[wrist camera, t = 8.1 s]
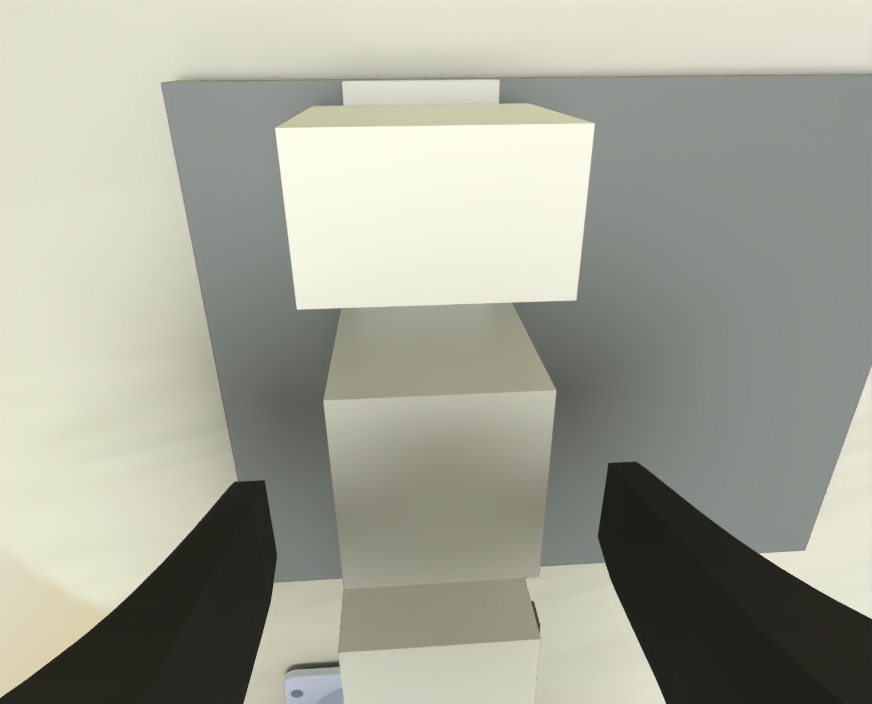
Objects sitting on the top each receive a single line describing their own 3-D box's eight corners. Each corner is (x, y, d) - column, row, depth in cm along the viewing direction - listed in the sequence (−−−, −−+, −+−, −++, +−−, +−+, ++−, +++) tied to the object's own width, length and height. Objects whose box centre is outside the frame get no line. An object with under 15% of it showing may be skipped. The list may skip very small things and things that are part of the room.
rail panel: (785, 527, 23) (928, 695, 17) (264, 557, 22) (216, 749, 16) (936, 73, 16) (1275, 81, 10) (177, 80, 15) (27, 95, 9)
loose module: (502, 450, 18) (539, 577, 14) (355, 457, 18) (344, 589, 13) (510, 298, 16) (556, 390, 11) (342, 303, 16) (323, 400, 11)
